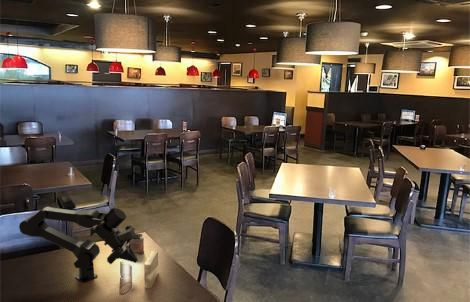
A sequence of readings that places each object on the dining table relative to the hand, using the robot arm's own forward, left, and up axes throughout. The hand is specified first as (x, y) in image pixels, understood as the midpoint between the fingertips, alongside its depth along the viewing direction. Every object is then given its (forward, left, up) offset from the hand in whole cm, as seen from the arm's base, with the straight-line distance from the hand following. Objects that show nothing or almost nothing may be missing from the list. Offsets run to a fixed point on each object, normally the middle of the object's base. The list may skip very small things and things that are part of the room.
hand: (136, 261), depth 149 cm
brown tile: (+5, +3, -8) cm, 10 cm away
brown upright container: (-20, +14, -8) cm, 26 cm away
